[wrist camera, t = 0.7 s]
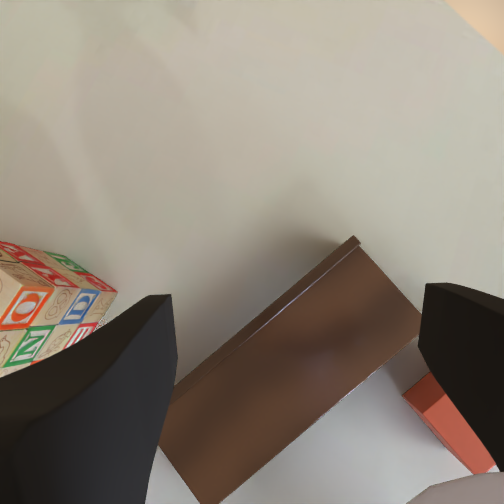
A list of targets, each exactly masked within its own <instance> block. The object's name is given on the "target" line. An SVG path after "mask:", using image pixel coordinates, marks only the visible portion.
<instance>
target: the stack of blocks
mask: <svg viewBox="0 0 504 504" xmlns="http://www.w3.org/2000/svg"><path fill="white" fill-rule="evenodd" d="M117 293H118V292H117V291H116V290H114V289H113V288H111V287H110V286H109V285H107V284H105V283H104V282H103V281H101V280H100V279H98V278H97V277H95V276H94V275H92V274H89V273H88V272H87V271H85V270H84V269H83V268H81V267H80V266H78V265H77V264H75V263H74V262H72V261H71V260H70V259H68V258H67V257H65V256H63V255H59V254H54V253H49V252H45V251H39V250H35V249H31V248H27V247H22V246H17V245H15V244H11V243H7V242H2V241H0V377H3V376H5V375H8V374H10V373H13V372H15V371H17V370H20V369H22V368H25V367H27V366H30V365H32V364H34V363H37V362H39V361H41V360H43V359H46V358H48V357H50V356H52V355H54V354H56V353H58V352H60V351H62V350H64V349H66V348H67V347H69V346H71V345H73V344H75V343H76V342H78V341H80V340H82V339H83V338H85V337H86V336H88V335H90V334H91V333H92V331H93V330H94V328H95V327H96V325H97V324H98V322H99V320H100V319H101V318H102V317H103V315H104V314H105V312H106V311H107V309H108V308H109V306H110V305H111V303H112V302H113V300H114V298H115V297H116V295H117Z"/></svg>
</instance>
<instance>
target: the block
mask: <svg viewBox="0 0 504 504" xmlns="http://www.w3.org/2000/svg"><path fill="white" fill-rule="evenodd" d="M402 397H403V398H404V399H405V400H406V402H407V403H408V404H409V405H410V406H411V407H412V409H413V410H414V411H415V412H416V413H417V414H418V416H419V417H420V418H421V419H422V420H423V421H424V423H425V424H426V425H427V426H428V427H429V428H430V430H431V431H432V432H433V433H434V434H435V435H436V436H437V438H438V439H439V440H440V441H441V442H442V443H443V445H444V446H445V447H446V448H447V449H448V450H449V451H450V452H451V453H452V454H453V455H454V456H455V457H456V458H457V459H458V460H459V461H460V462H461V463H462V464H463V465H464V466H465V467H466V468H467V469H468V470H469V471H470V472H471V473H472V474H474V475H475V474H479V473H486V472H488V471H489V470H490V469H491V468H492V467H493V466H495V465H496V463H495V462H494V460H493V458H492V457H491V455H490V454H489V452H488V451H487V450H486V448H485V447H484V445H483V444H482V442H481V441H480V439H479V438H478V437H477V435H476V434H475V433H474V431H473V430H472V429H471V427H470V426H469V424H468V423H467V422H466V420H465V419H464V418H463V416H462V415H461V414H460V412H459V411H458V410H457V408H456V407H455V405H454V404H453V403H452V401H451V400H450V399H449V397H448V396H447V395H446V393H445V392H444V390H443V389H442V388H441V386H440V385H439V383H438V382H437V381H436V379H435V378H434V376H433V375H432V373H431V372H429V373H428V374H427V375H426V376H425V377H423V378H422V379H421V380H420V381H419V382H418V383H416V384H415V385H414V386H413V387H412V388H410V389H409V390H408V391H407V392H406V393H404V394H403V395H402Z"/></svg>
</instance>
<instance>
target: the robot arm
mask: <svg viewBox="0 0 504 504" xmlns="http://www.w3.org/2000/svg"><path fill="white" fill-rule="evenodd" d="M418 348H419V350H420V352H421V354H422V356H423V358H424V360H425V362H426V364H427V366H428V367H429V369H430V371H431V373H432V375H433V376H434V378H435V379H436V381H437V382H438V383H439V385H440V386H441V388H442V389H443V390H444V392H445V393H446V395H447V396H448V397H449V399H450V400H451V401H452V403H453V404H454V405H455V407H456V408H457V410H458V411H459V412H460V414H461V415H462V416H463V418H464V419H465V420H466V422H467V423H468V424H469V426H470V427H471V429H472V430H473V431H474V433H475V434H476V435H477V437H478V438H479V439H480V441H481V442H482V444H483V445H484V447H485V448H486V450H487V451H488V452H489V454H490V455H491V457H492V458H493V460H494V462H495V463H496V465H497V467H498V469H499V470H500V472H493V473H479V474H475V475H471V476H467V477H463V478H459V479H455V480H451V481H447V482H443V483H439V484H435V485H432V486H429V487H428V488H427V489H425V490H424V491H422V492H421V493H420V494H418V495H417V496H416V497H414V498H413V499H412V500H410V501H409V502H407V503H406V504H504V299H502V298H499V297H496V296H493V295H490V294H487V293H484V292H481V291H478V290H475V289H471V288H468V287H465V286H461V285H457V284H452V283H426V285H425V293H424V301H423V309H422V317H421V324H420V332H419V340H418ZM177 359H178V355H177V346H176V336H175V326H174V316H173V306H172V297H171V294H165V295H149V296H147V297H145V298H143V299H142V300H140V301H139V302H137V303H136V304H134V305H133V306H132V307H130V308H129V309H127V310H126V311H124V312H123V313H122V314H120V315H119V316H117V317H116V318H114V319H113V320H112V321H110V322H109V323H107V324H106V325H104V326H102V327H101V328H99V329H98V330H96V331H94V332H93V333H91V334H90V335H88V336H86V337H85V338H83V339H82V340H80V341H78V342H76V343H75V344H73V345H71V346H69V347H67V348H66V349H64V350H62V351H60V352H58V353H56V354H54V355H52V356H50V357H48V358H46V359H43V360H41V361H39V362H37V363H34V364H32V365H30V366H27V367H25V368H22V369H20V370H17V371H15V372H13V373H10V374H8V375H5V376H3V377H0V504H145V500H146V494H147V488H148V482H149V477H150V473H151V469H152V464H153V460H154V457H155V453H156V449H157V446H158V442H159V439H160V435H161V432H162V428H163V425H164V421H165V418H166V414H167V411H168V407H169V403H170V400H171V396H172V392H173V388H174V382H175V375H176V367H177Z"/></svg>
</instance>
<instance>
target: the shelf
mask: <svg viewBox="0 0 504 504" xmlns="http://www.w3.org/2000/svg"><path fill="white" fill-rule="evenodd" d="M360 244H361V243H360V241H359V240H358V239H357V238H356V237H355V236H354V235H353V236H352V237H350V238H349V239H348V240H347V241H346V242H344V243H343V244H342V245H341V246H340V247H339V248H337V249H336V250H335V251H334V252H333V253H331V254H330V255H329V256H328V257H327V258H326V259H324V260H323V261H322V262H321V263H320V264H318V265H317V266H316V267H315V268H314V269H313V270H311V271H310V272H309V273H308V274H307V275H305V276H304V277H303V278H302V279H301V280H300V281H298V282H297V283H296V284H295V285H294V286H292V287H291V288H290V289H289V290H288V291H287V292H285V293H284V294H283V295H282V296H281V297H279V298H278V299H277V300H276V301H275V302H273V303H272V304H271V305H270V306H269V307H268V308H266V309H265V310H264V311H263V312H262V313H260V314H259V315H258V316H257V317H256V318H255V319H253V320H252V321H251V322H250V323H249V324H247V325H246V326H245V327H244V328H243V329H242V330H240V331H239V332H238V333H237V334H236V335H234V336H233V337H232V338H231V339H230V340H229V341H227V342H226V343H225V344H224V345H223V346H221V347H220V348H219V349H218V350H217V351H216V352H214V353H213V354H212V355H211V356H210V357H208V358H207V359H206V360H205V361H204V362H203V363H201V364H200V365H199V366H198V367H197V368H195V369H194V370H193V371H192V372H191V373H190V374H188V375H187V376H186V377H185V378H184V379H182V380H181V381H180V382H179V383H178V384H176V385H175V386H174V388H173V392H172V396H171V400H170V403H169V407H168V411H167V414H166V418H165V421H164V425H163V428H162V432H161V435H160V439H159V442H158V445H159V447H160V448H161V450H162V451H163V452H164V454H165V455H166V457H167V458H168V459H169V461H170V462H171V464H172V465H173V466H174V468H175V469H176V471H177V472H178V473H179V475H180V476H181V478H182V479H183V480H184V482H185V483H186V485H187V486H188V487H189V489H190V490H191V492H192V493H193V494H194V496H195V497H196V498H197V500H198V501H199V503H200V504H219V503H220V502H222V501H223V500H224V499H225V498H226V497H228V496H229V495H230V494H231V493H232V492H233V491H235V490H236V489H237V488H238V487H239V486H241V485H242V484H243V483H244V482H245V481H246V480H248V479H249V478H250V477H251V476H252V475H254V474H255V473H256V472H257V471H258V470H260V469H261V468H262V467H263V466H264V465H265V464H267V463H268V462H269V461H270V460H271V459H273V458H274V457H275V456H276V455H277V454H278V453H280V452H281V451H282V450H283V449H284V448H286V447H287V446H288V445H289V444H290V443H291V442H293V441H294V440H295V439H296V438H297V437H299V436H300V435H301V434H302V433H303V432H304V431H306V430H307V429H308V428H309V427H310V426H312V425H313V424H314V423H315V422H316V421H318V420H319V419H320V418H321V417H322V416H323V415H325V414H326V413H327V412H328V411H329V410H331V409H332V408H333V407H334V406H335V405H336V404H338V403H339V402H340V401H341V400H342V399H344V398H345V397H346V396H347V395H348V394H349V393H351V392H352V391H353V390H354V389H355V388H357V387H358V386H359V385H360V384H361V383H363V382H364V381H365V380H366V379H367V378H368V377H370V376H371V375H372V374H373V373H374V372H376V371H377V370H378V369H379V368H380V367H381V366H383V365H384V364H385V363H386V362H387V361H389V360H390V359H391V358H392V357H393V356H394V355H396V354H397V353H398V352H399V351H400V350H402V349H403V348H404V347H405V346H406V345H407V344H409V343H410V342H411V341H412V340H413V339H415V338H416V337H417V336H418V335H419V332H420V324H421V317H422V314H421V313H420V312H419V311H418V310H417V309H416V308H415V307H414V306H413V304H412V303H411V302H410V301H409V300H408V299H407V298H406V297H405V296H404V295H403V293H402V292H401V291H400V290H399V289H398V288H397V287H396V286H395V285H394V283H393V282H392V281H391V280H390V279H389V278H388V277H387V276H386V275H385V274H384V272H383V271H382V270H381V269H380V268H379V267H378V266H377V265H376V264H375V263H374V261H373V260H372V259H371V258H370V257H369V256H368V255H367V254H366V253H365V252H364V250H363V249H362V248H361V247H360V246H359V245H360Z"/></svg>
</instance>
